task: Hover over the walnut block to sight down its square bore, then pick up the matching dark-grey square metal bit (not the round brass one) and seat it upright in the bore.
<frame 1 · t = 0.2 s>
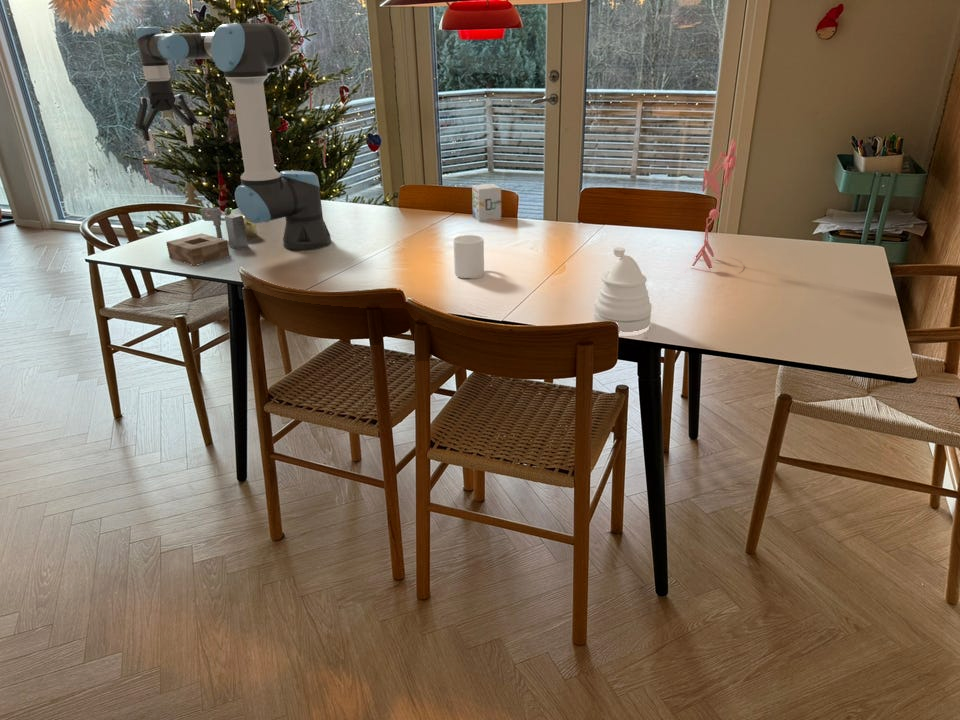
hand: (172, 148, 233), 28 cm above the table, fingers open, 13 cm apart
mechanical component: (220, 238, 235), on the table
pink branching twig: (717, 266, 200), on the table
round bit: (248, 236, 236), on the table
ink box: (486, 218, 253), on the table
bore block: (199, 256, 215), on the table
honey pot: (621, 326, 162), on the table
square bit: (239, 246, 225), on the table
mug: (472, 273, 198), on the table
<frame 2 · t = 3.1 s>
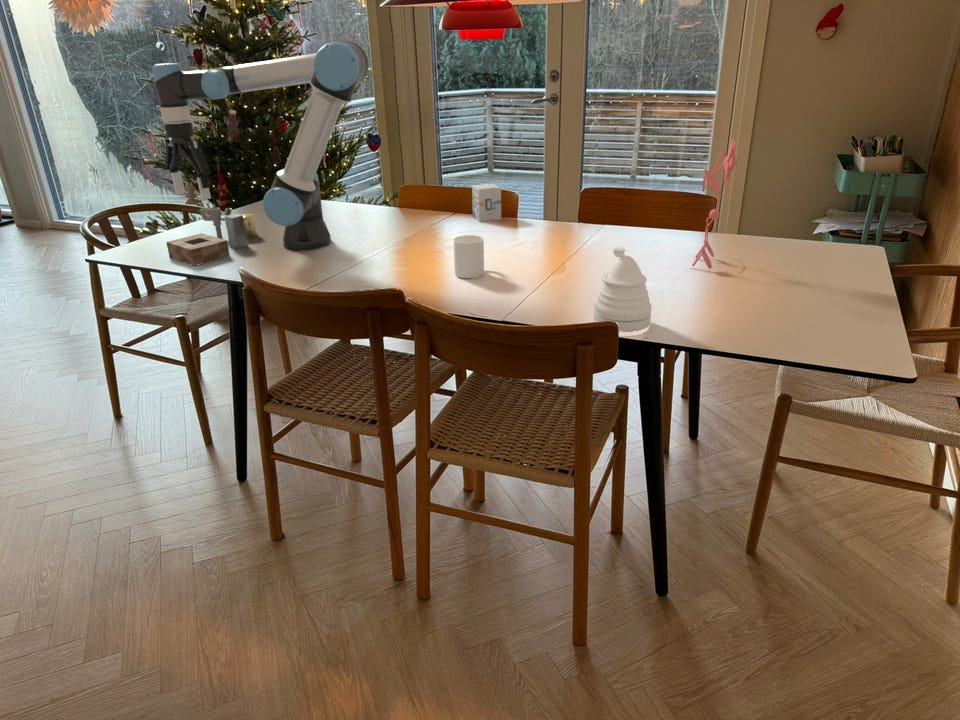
hand: (193, 196, 208), 18 cm above the table, fingers open, 13 cm apart
nothing on the table moved.
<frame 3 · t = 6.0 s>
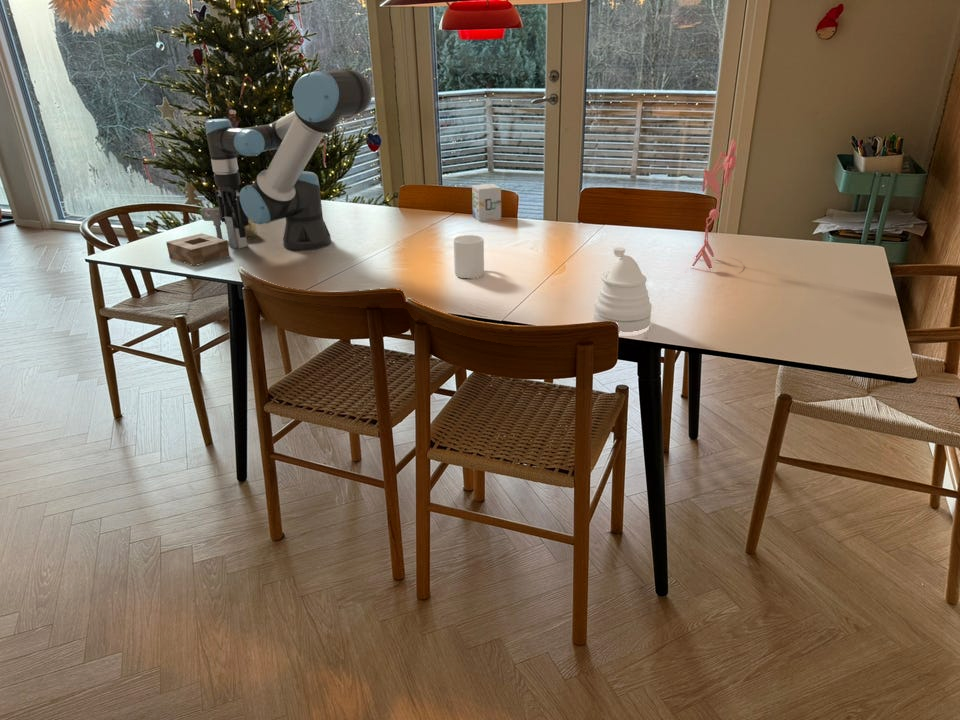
hand: (238, 245, 225), 0 cm above the table, fingers closed on square bit, 4 cm apart
square bit: (238, 246, 225), on the table, touching gripper
everything else where it was.
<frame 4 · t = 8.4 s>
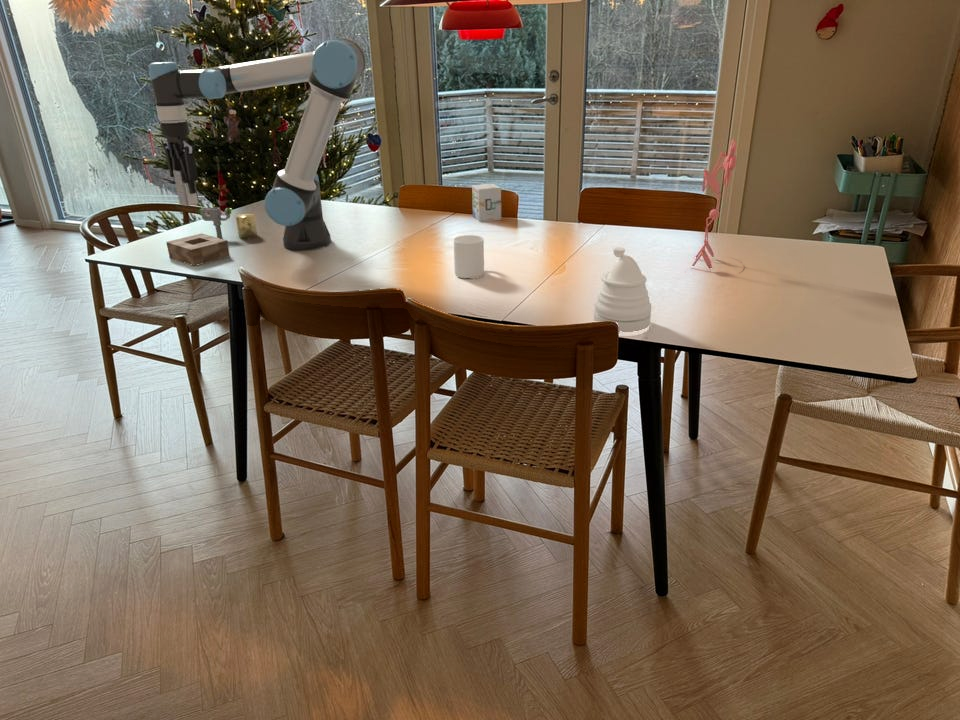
hand: (189, 202, 208), 17 cm above the table, fingers closed on square bit, 4 cm apart
square bit: (189, 203, 208), point 16 cm above the table, touching gripper
everything else where it was.
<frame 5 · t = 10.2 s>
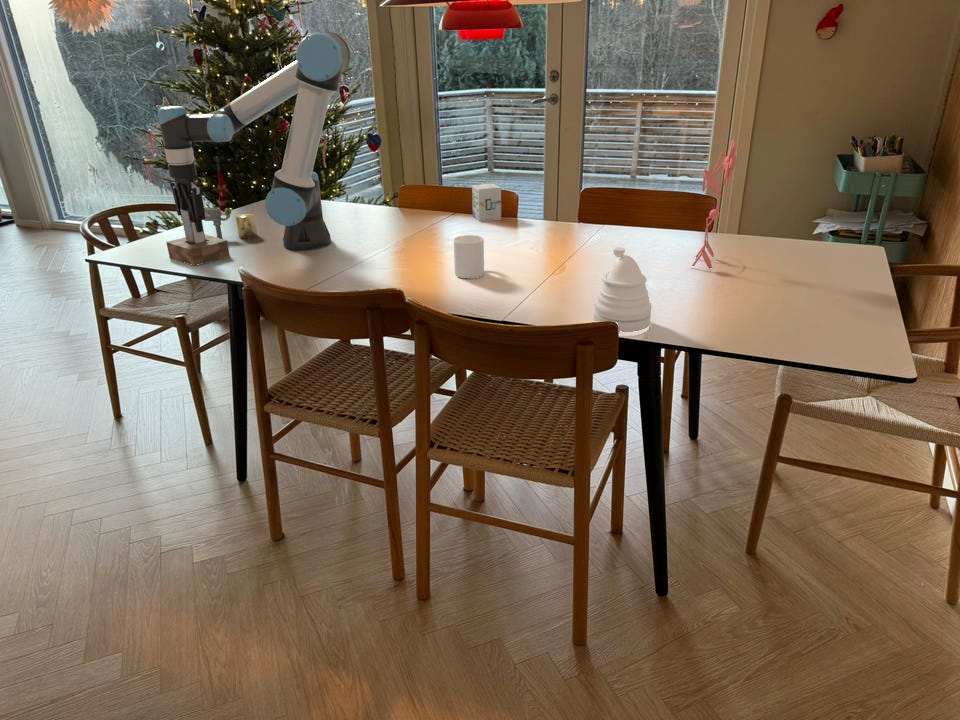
hand: (195, 240, 213), 5 cm above the table, fingers closed on square bit, 4 cm apart
square bit: (196, 241, 213), point 5 cm above the table, touching gripper
everything else where it was.
when the fingers open (5 cm above the table, at t = 11.8 s): square bit stays where it is, resting in bore block.
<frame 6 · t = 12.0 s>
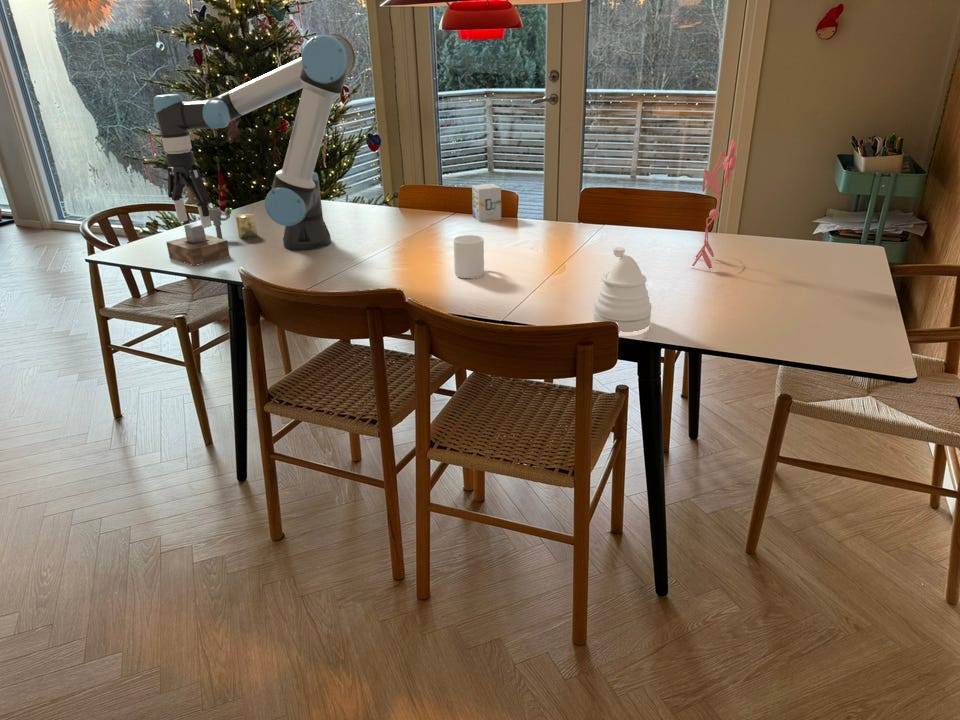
hand: (195, 224, 211), 10 cm above the table, fingers open, 12 cm apart
square bit: (199, 257, 215), resting in bore block
everything else where it was.
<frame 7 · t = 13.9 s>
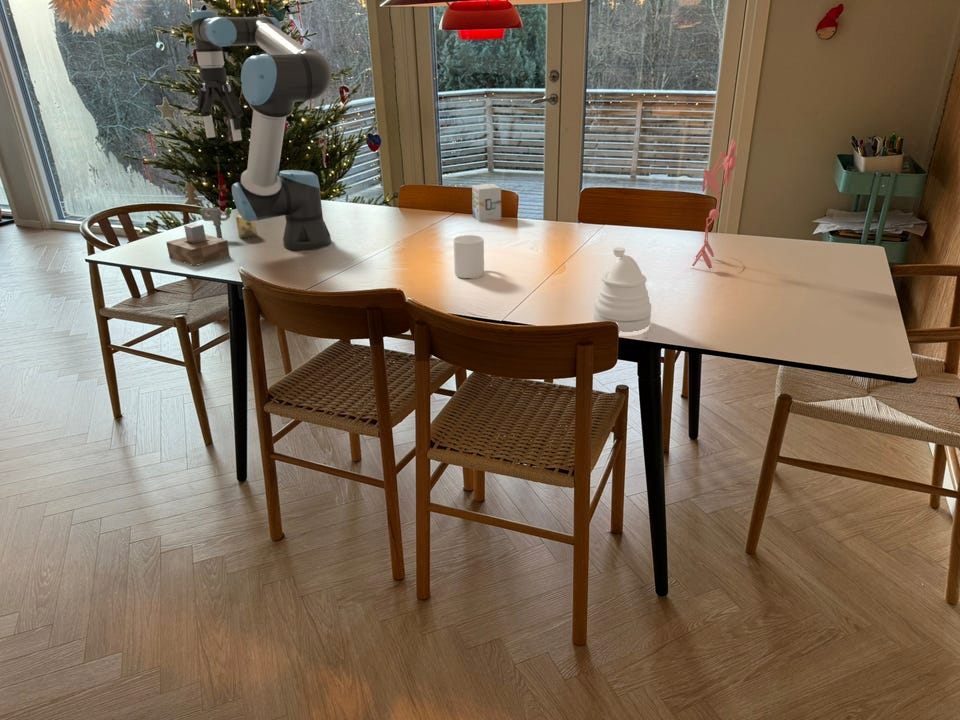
hand: (224, 139, 222), 32 cm above the table, fingers open, 13 cm apart
nothing on the table moved.
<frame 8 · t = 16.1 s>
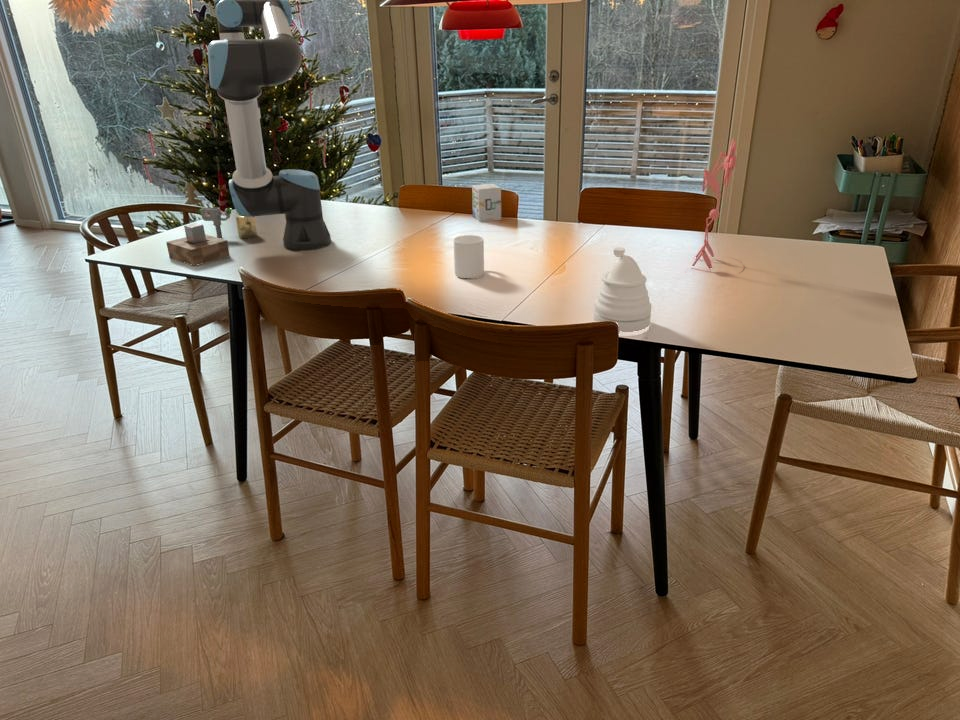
hand: (244, 117, 232), 37 cm above the table, fingers open, 13 cm apart
nothing on the table moved.
at the end: square bit 0.0 cm off-centre on the bore block, point 0.0 cm above the bore block's base; square bit tilted 0°; the gripper is holding nothing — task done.
